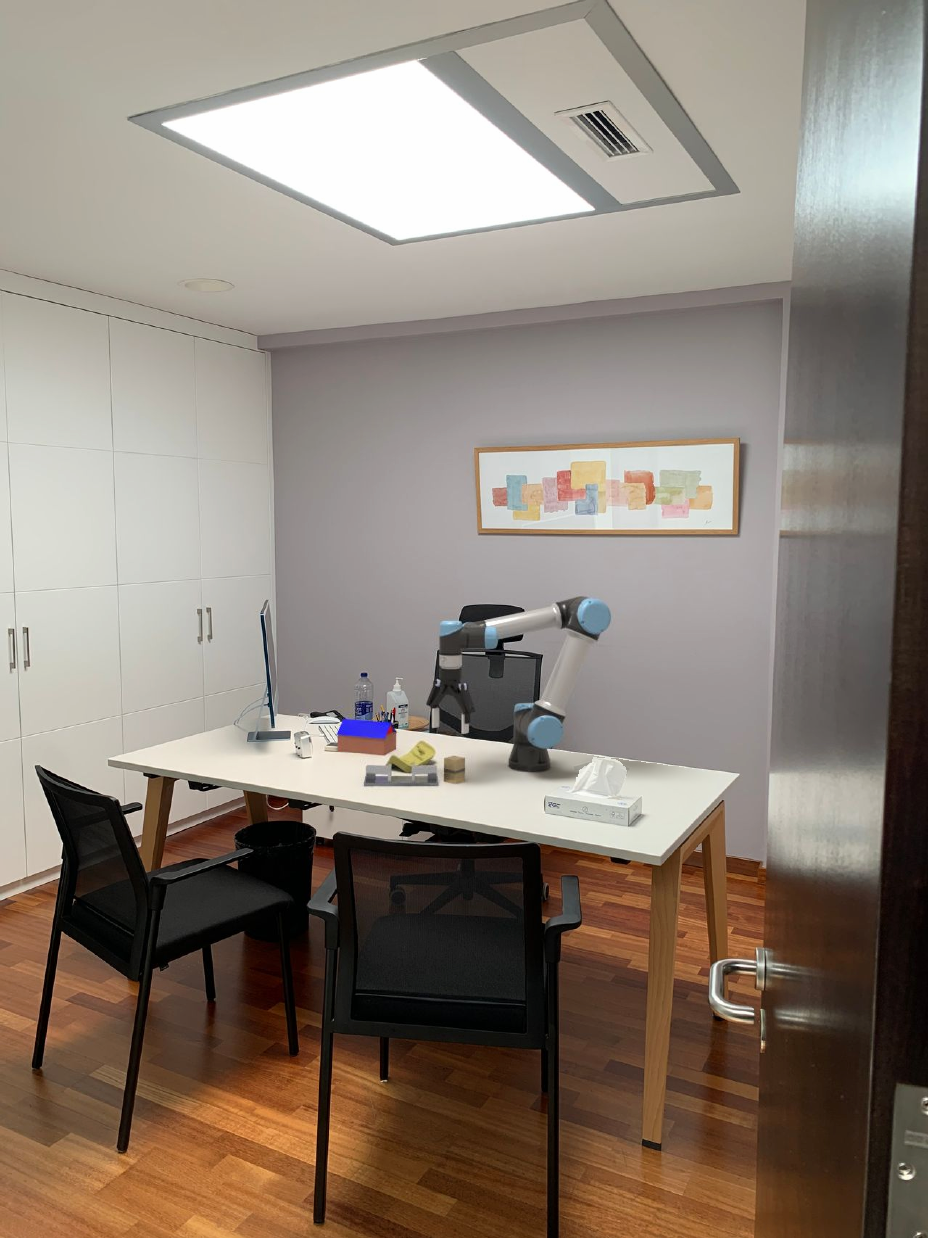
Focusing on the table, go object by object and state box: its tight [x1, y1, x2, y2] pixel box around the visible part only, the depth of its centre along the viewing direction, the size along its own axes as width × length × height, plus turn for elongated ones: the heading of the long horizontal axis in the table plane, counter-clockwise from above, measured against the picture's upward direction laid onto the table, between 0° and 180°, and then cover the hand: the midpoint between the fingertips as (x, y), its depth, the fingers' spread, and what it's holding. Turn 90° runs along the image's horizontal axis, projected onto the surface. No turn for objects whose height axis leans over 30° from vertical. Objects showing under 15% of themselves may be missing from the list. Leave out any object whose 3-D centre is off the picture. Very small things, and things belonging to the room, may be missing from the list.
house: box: [335, 718, 398, 756], centre depth 349 cm, size 12×20×12 cm, turn 71°
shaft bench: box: [363, 764, 439, 787], centre depth 303 cm, size 24×9×6 cm, turn 93°
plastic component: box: [384, 740, 437, 774], centre depth 326 cm, size 20×7×10 cm
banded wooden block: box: [443, 755, 466, 785], centre depth 305 cm, size 5×5×8 cm
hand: (450, 730), depth 305 cm, fingers open, 13 cm apart
